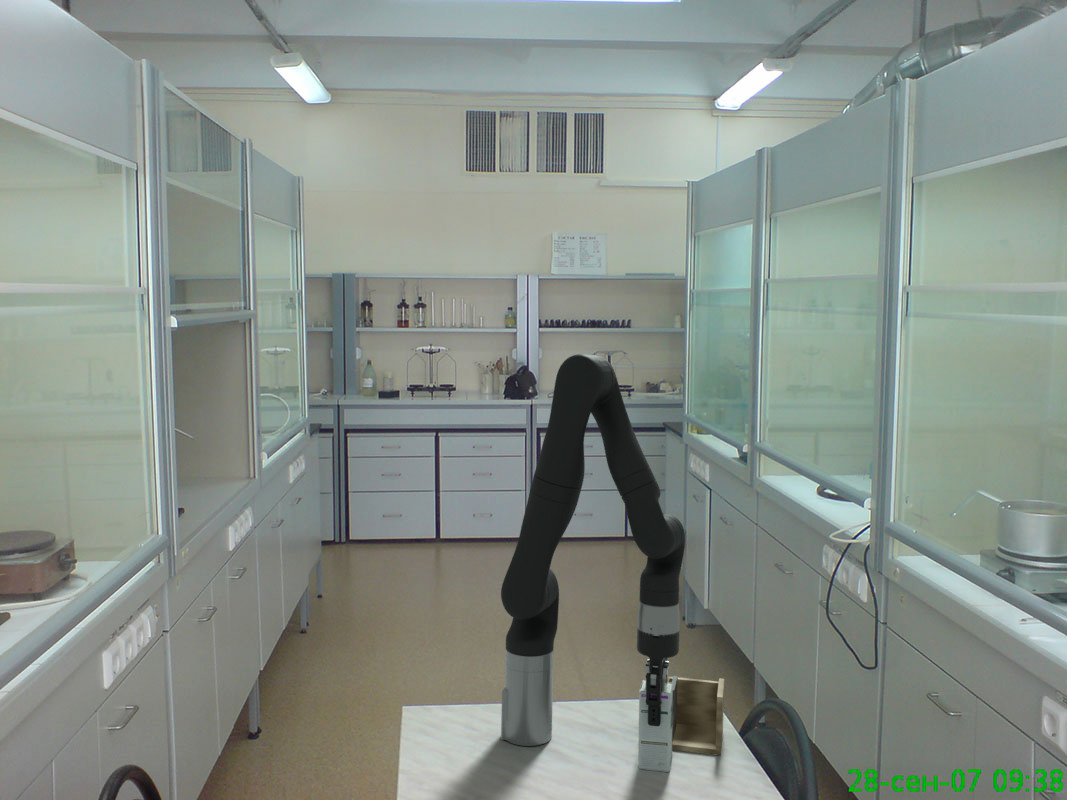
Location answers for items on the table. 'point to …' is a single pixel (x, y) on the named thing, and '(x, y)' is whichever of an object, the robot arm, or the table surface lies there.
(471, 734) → the table surface
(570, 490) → the robot arm
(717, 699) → the shelf
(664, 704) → the syrup box
